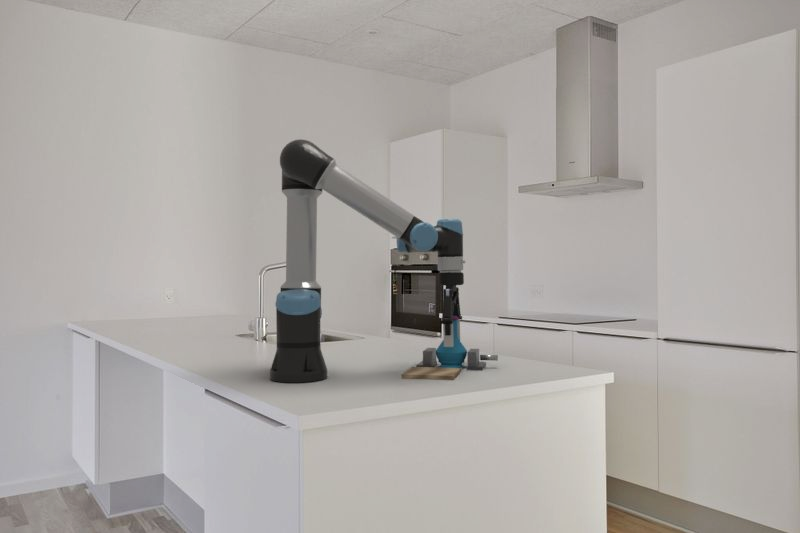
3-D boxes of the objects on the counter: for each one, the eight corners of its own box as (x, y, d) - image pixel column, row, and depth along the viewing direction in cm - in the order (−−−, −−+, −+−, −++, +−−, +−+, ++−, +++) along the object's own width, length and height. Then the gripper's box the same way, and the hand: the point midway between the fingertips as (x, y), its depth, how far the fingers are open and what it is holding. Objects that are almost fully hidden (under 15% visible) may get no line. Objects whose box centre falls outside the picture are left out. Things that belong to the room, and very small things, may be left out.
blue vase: (446, 363, 203) (446, 314, 203) (472, 366, 198) (472, 315, 198) (429, 367, 196) (429, 316, 196) (456, 370, 190) (456, 317, 190)
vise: (416, 368, 194) (415, 351, 194) (422, 363, 204) (422, 347, 204) (496, 370, 189) (496, 353, 189) (499, 365, 199) (499, 348, 199)
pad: (401, 378, 178) (401, 374, 178) (412, 370, 191) (412, 366, 191) (453, 379, 174) (453, 376, 174) (461, 371, 188) (461, 367, 188)
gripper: (457, 272, 184) (458, 349, 184) (468, 271, 208) (470, 339, 208) (430, 272, 185) (432, 349, 185) (444, 271, 210) (446, 339, 210)
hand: (452, 344), depth 197 cm, fingers open, 13 cm apart
